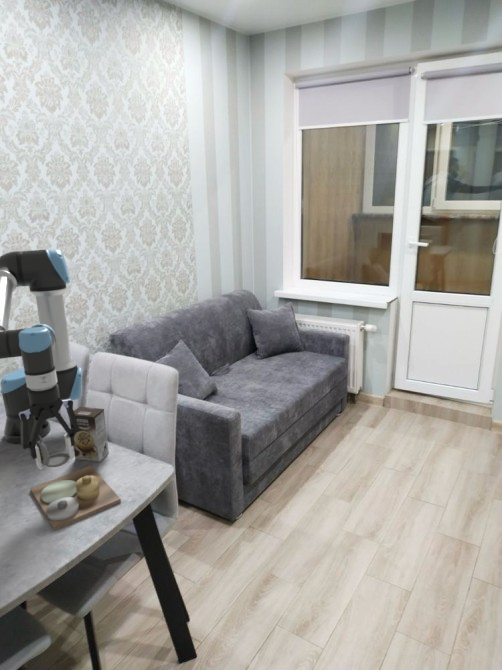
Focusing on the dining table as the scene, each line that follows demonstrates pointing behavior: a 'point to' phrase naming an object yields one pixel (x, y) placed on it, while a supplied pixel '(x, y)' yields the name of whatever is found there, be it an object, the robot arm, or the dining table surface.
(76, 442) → the coffee box
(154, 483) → the dining table surface
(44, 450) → the pocket watch
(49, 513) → the tray
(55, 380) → the robot arm
